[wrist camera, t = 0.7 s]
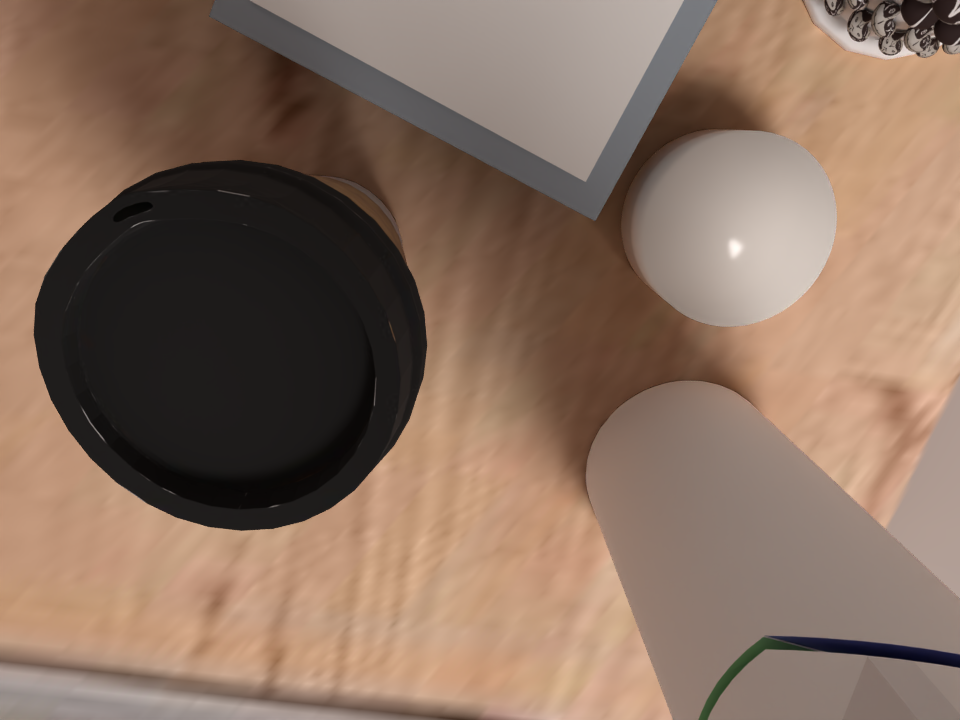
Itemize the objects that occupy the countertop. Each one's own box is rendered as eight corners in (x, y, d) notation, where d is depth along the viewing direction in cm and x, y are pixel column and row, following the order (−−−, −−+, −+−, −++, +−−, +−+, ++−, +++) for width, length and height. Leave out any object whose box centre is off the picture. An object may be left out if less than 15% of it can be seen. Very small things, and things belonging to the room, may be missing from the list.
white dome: (589, 257, 30) (607, 275, 26) (680, 95, 28) (711, 92, 25) (731, 331, 31) (765, 357, 28) (826, 181, 29) (875, 189, 26)
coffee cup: (385, 108, 28) (323, 98, 13) (464, 310, 30) (481, 482, 16) (183, 187, 28) (-83, 259, 14) (278, 379, 31) (135, 604, 17)
